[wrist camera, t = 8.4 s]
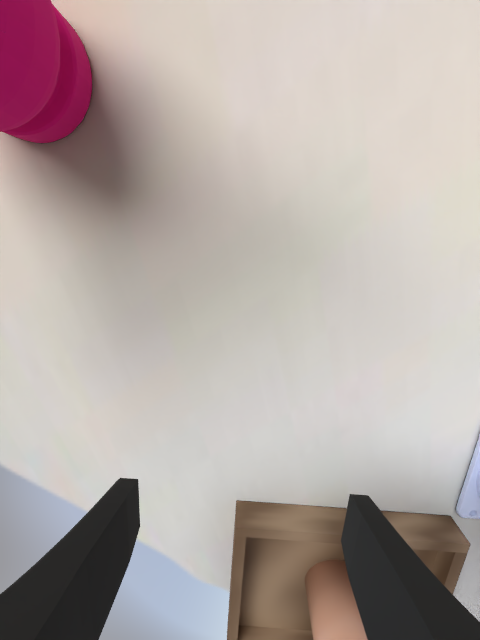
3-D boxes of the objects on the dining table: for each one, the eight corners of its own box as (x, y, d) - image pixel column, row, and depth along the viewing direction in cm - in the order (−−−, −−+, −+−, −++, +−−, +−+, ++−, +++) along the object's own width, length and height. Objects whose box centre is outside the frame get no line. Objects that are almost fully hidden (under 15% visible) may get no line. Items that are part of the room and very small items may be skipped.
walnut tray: (450, 515, 23) (470, 544, 21) (412, 633, 27) (426, 667, 25) (236, 500, 24) (235, 527, 22) (228, 619, 27) (226, 652, 25)
